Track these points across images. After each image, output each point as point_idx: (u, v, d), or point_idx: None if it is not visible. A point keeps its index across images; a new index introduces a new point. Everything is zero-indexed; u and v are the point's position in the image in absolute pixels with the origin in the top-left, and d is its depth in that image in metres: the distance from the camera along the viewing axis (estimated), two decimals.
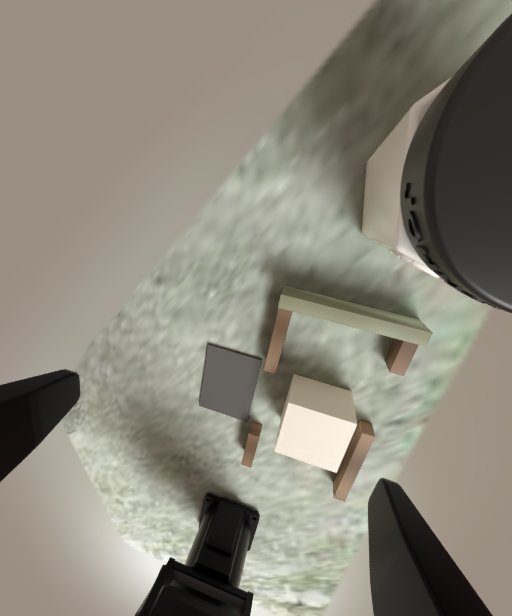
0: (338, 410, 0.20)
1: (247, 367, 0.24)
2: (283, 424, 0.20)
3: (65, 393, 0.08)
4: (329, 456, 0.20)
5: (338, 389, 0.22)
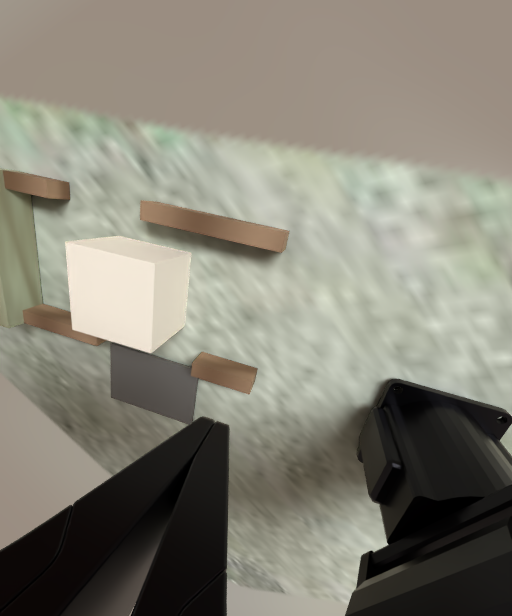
0: None
1: (123, 360, 0.20)
2: (104, 337, 0.15)
3: None
4: (129, 275, 0.13)
5: None
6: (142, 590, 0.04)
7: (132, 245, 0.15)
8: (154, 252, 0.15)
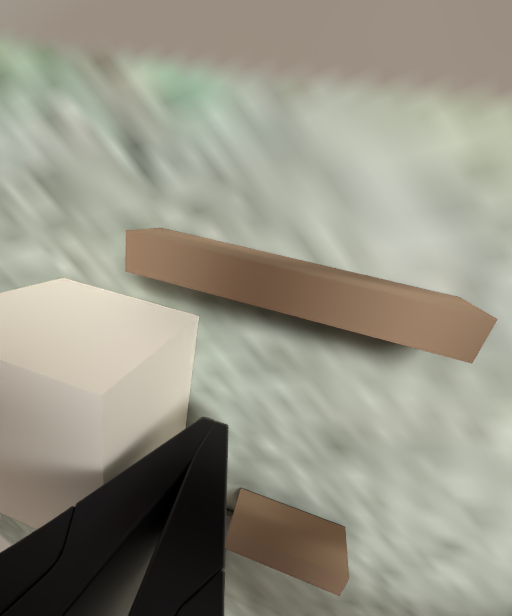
0: None
1: None
2: (6, 513, 0.07)
3: None
4: (40, 412, 0.05)
5: None
6: (140, 589, 0.04)
7: (73, 309, 0.07)
8: (116, 331, 0.07)
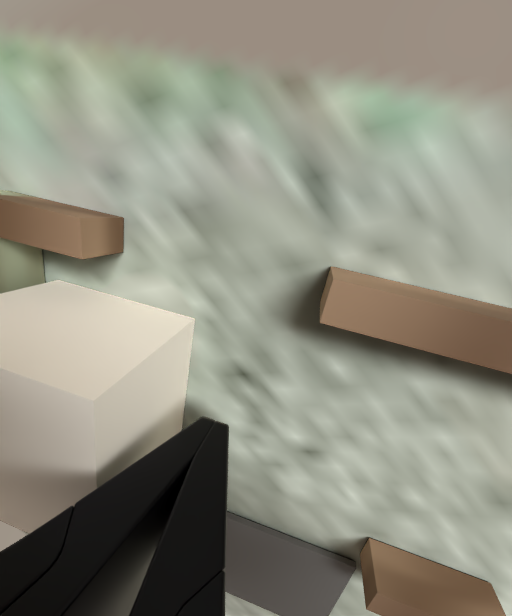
0: None
1: None
2: None
3: None
4: (32, 417, 0.05)
5: None
6: (141, 590, 0.04)
7: (68, 312, 0.07)
8: (111, 334, 0.07)
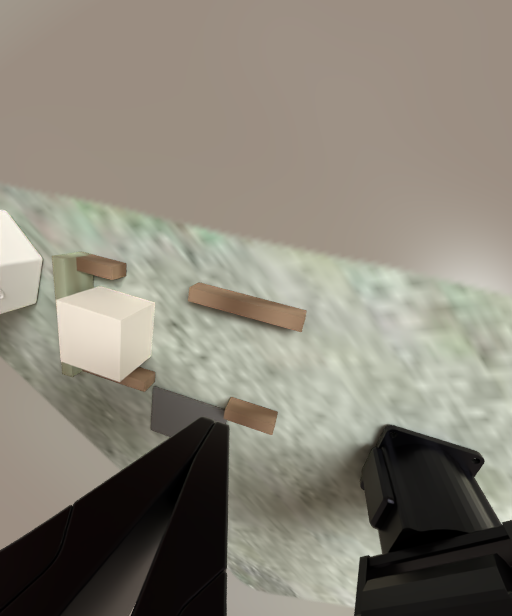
0: None
1: (163, 400, 0.24)
2: (84, 368, 0.20)
3: None
4: (102, 327, 0.18)
5: None
6: (142, 590, 0.04)
7: (108, 298, 0.20)
8: (124, 305, 0.19)
